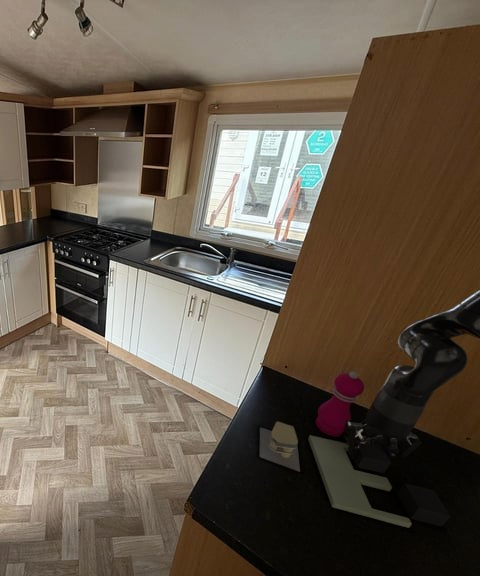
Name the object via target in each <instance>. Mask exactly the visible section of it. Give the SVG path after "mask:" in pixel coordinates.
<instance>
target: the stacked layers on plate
mask: <svg viewBox="0 0 480 576" xmlns="http://www.w3.org/2000/svg"><path fill="white" fill-rule="evenodd" d="M298 443H299V440H298V436H297V433H296V430H295V427H294V426H293V425H290V424H287V423H284V422H281V421H276V422H275V424H274V426H273V428H272V430H269V429H267V428H264V427H259V458H261V459H264V460H266V461H268V462H269V461H270V462H272V463H274V464H277V465H280V466H283V467H285V468H288V469H291V470H294V471H296V472H298V473H301V468H300V467H301V466H300V456H299V449H298Z"/></svg>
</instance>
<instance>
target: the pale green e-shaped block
mask: <svg viewBox="0 0 480 576" xmlns="http://www.w3.org/2000/svg"><path fill="white" fill-rule="evenodd" d="M307 440H308V443H309V446H310V449H311V451H312V455H313V458H314V459H315V462H316V466H317V469H318V472H319V474H320V476H321V480H322V482H323V485H324V488H325V492H326V494H327V497H328V499H329V502H330V505H331V508H333V509H337V510H341V511H346V512H348V513H352V514H356V515H360V516H363V517H367V518H370V519H374V520H378V521H381V522H385V523H389V524H393V525H396V526H400V527H404V528H407V529H410V527H411V526H412V525H413V523H412V521H411V519H410V517H406V516H403V515H402V516H401V515H398V514H395V513H392V512H391V513H390V512H386V511H384V510H379V509H375V508H372V506H371V503H370V502H369V500H368V498H367V495H366V493H365V491H364V489H363V486H365V487H366V486H367V487H370V488H375V489H378V490H383V491H386V492H390V491H391V490H392V489H393V486H392V484H391V483H390V480H389V478H387V477H385V476H381V475H378V474H373V473H369V472H364V471H361V470H356V469H354V467H353V465H352V462H351V460H350V457H349V455H348V454H347V453H348V448H349V445H348V444H347V442H341V441H338V440H333V439H327V438H324V437H320V436H315V435H311V434H309V436H308V439H307Z"/></svg>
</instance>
